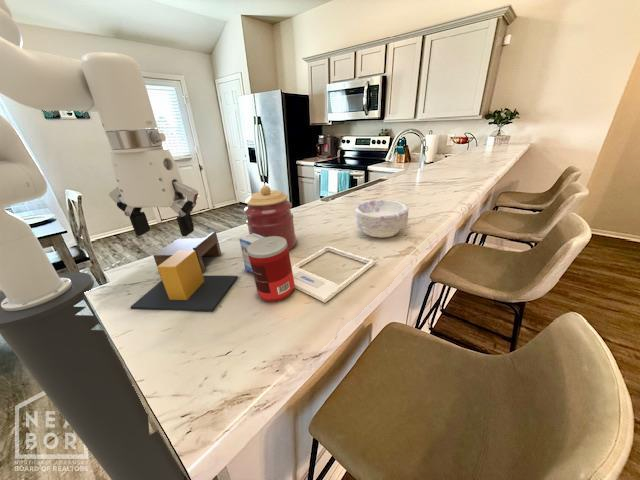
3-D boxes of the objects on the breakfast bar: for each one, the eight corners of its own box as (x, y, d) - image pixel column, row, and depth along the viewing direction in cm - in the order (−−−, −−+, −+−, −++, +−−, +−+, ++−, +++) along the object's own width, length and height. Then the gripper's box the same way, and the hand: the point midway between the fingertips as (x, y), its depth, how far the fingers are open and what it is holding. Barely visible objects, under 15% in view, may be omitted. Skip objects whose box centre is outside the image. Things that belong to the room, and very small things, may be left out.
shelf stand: (159, 272, 67) (150, 248, 64) (182, 254, 76) (175, 232, 73) (203, 272, 65) (195, 247, 62) (221, 254, 74) (215, 231, 71)
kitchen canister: (284, 233, 85) (276, 178, 77) (305, 246, 75) (298, 184, 67) (245, 245, 78) (232, 186, 71) (262, 261, 68) (249, 195, 61)
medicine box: (245, 270, 65) (238, 238, 61) (259, 262, 68) (253, 231, 64) (265, 280, 60) (258, 246, 56) (279, 271, 63) (274, 239, 59)
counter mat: (131, 309, 54) (129, 306, 54) (168, 277, 65) (167, 275, 64) (212, 311, 51) (212, 309, 51) (237, 277, 62) (237, 275, 62)
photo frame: (276, 274, 60) (327, 245, 71) (276, 278, 60) (327, 248, 72) (324, 298, 50) (374, 260, 62) (325, 302, 51) (374, 264, 63)
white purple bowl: (392, 247, 70) (393, 219, 67) (345, 235, 80) (344, 210, 76) (415, 228, 81) (417, 203, 77) (371, 219, 90) (371, 197, 87)
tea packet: (169, 299, 55) (156, 266, 51) (188, 281, 61) (178, 250, 58) (187, 300, 54) (175, 266, 51) (204, 281, 60) (195, 250, 57)
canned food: (298, 279, 59) (291, 235, 54) (289, 303, 52) (279, 255, 47) (266, 279, 60) (256, 236, 55) (252, 302, 53) (240, 255, 48)
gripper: (195, 137, 47) (215, 226, 54) (110, 141, 49) (140, 226, 57) (168, 141, 40) (195, 242, 48) (71, 145, 43) (111, 241, 50)
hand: (165, 233), depth 52 cm, fingers open, 9 cm apart
